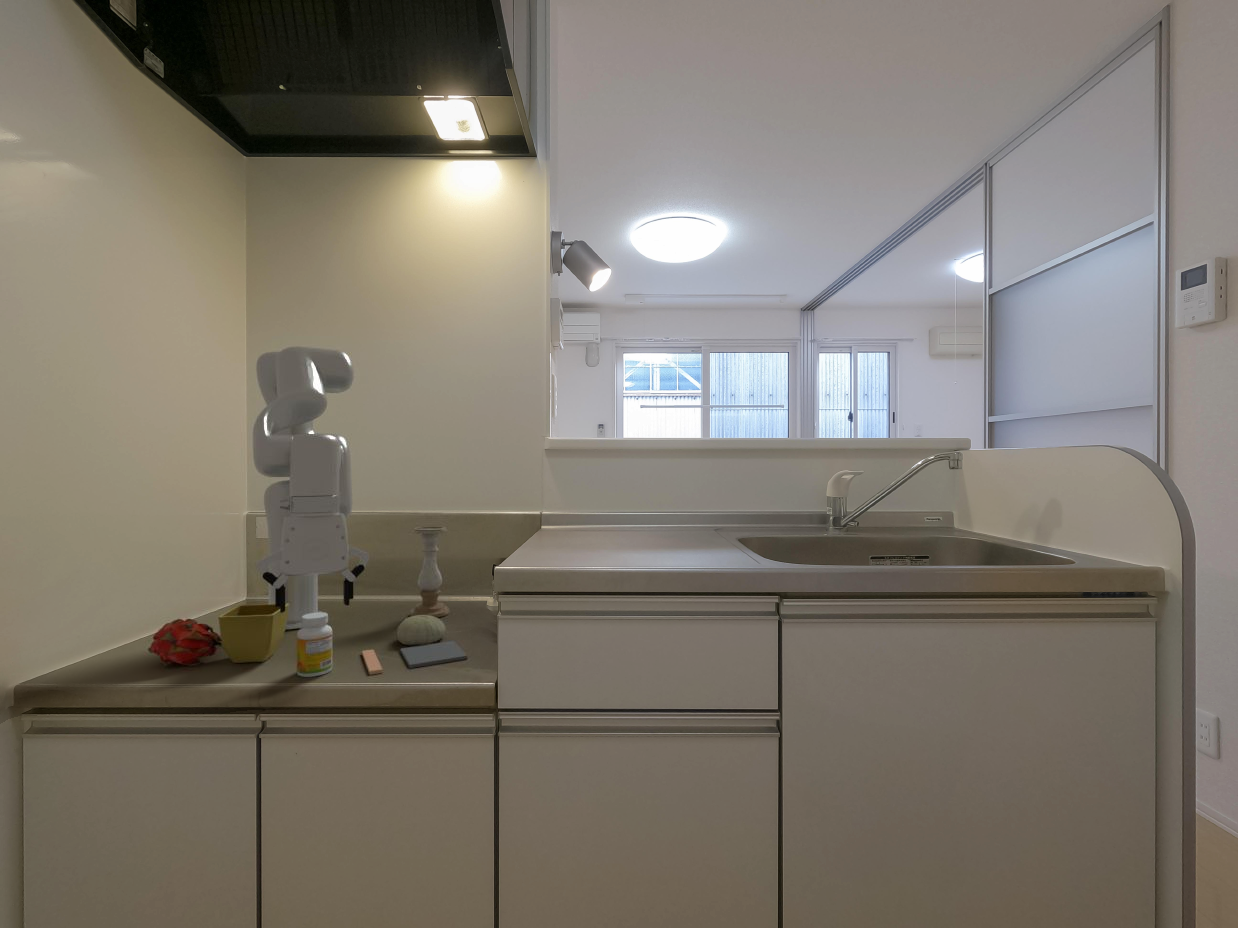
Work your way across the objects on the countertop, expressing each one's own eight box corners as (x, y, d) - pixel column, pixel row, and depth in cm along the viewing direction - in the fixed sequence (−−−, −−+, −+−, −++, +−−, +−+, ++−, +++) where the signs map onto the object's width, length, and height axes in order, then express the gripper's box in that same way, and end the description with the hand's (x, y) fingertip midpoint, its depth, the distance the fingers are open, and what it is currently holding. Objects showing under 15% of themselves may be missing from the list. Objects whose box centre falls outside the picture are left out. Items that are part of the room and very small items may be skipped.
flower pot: (290, 649, 112) (290, 602, 112) (272, 665, 103) (272, 614, 103) (239, 652, 110) (239, 604, 110) (217, 668, 102) (217, 616, 101)
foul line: (361, 653, 109) (361, 650, 109) (373, 652, 110) (373, 649, 110) (369, 674, 99) (369, 671, 99) (382, 672, 100) (382, 669, 100)
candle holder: (430, 621, 132) (430, 531, 132) (401, 616, 136) (401, 528, 135) (457, 612, 140) (457, 527, 140) (429, 607, 143) (429, 525, 143)
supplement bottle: (298, 668, 101) (298, 612, 101) (332, 664, 104) (332, 609, 104) (295, 679, 97) (295, 620, 96) (331, 674, 99) (331, 617, 99)
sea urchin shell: (434, 639, 112) (408, 608, 113) (408, 666, 113) (382, 635, 114) (457, 626, 121) (432, 597, 122) (432, 651, 122) (407, 622, 123)
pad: (400, 651, 111) (400, 648, 111) (453, 643, 116) (453, 640, 116) (409, 668, 102) (409, 664, 102) (467, 658, 107) (467, 655, 107)
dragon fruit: (154, 668, 106) (217, 680, 105) (123, 653, 99) (189, 666, 98) (182, 623, 111) (242, 634, 110) (154, 606, 104) (218, 617, 103)
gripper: (254, 509, 92) (254, 618, 92) (372, 505, 101) (372, 605, 100) (256, 507, 99) (256, 609, 98) (367, 503, 107) (367, 597, 107)
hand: (315, 607), depth 99 cm, fingers open, 9 cm apart
